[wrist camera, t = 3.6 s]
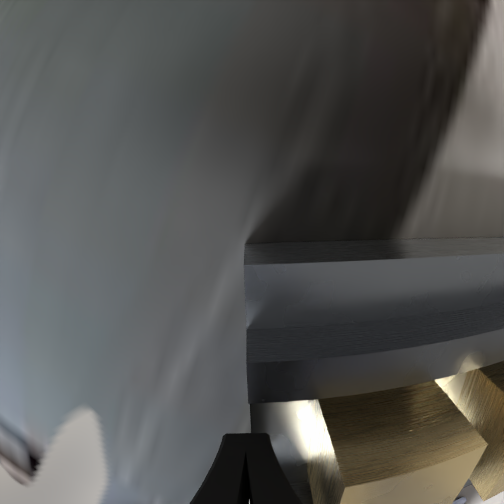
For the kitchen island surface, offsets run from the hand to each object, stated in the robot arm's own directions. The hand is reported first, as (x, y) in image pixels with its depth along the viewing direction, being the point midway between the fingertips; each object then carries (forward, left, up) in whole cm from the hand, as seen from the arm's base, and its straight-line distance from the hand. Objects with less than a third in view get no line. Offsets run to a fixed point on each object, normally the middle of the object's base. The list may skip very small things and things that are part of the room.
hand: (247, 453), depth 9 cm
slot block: (0, -10, -4) cm, 11 cm away
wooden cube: (0, -4, -1) cm, 4 cm away
